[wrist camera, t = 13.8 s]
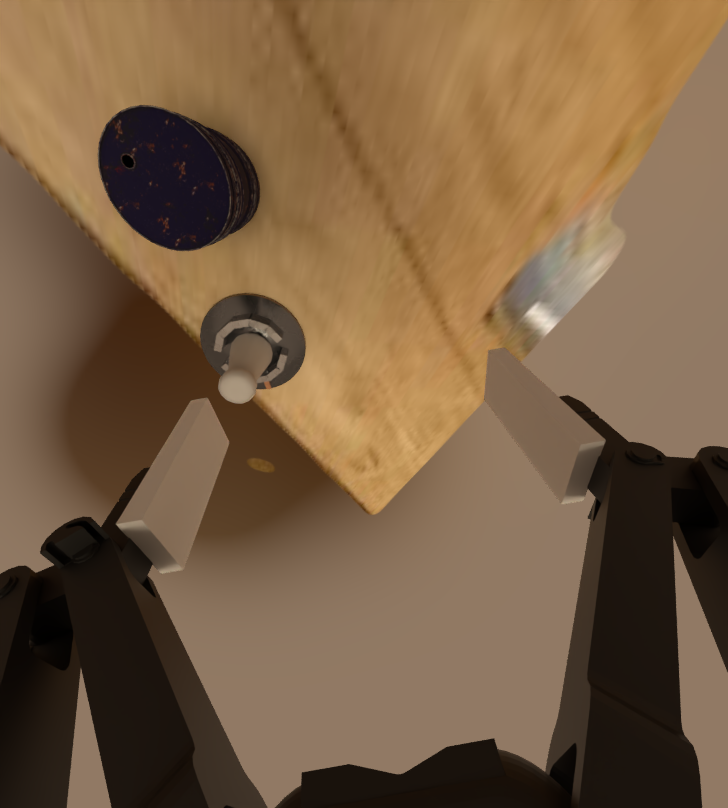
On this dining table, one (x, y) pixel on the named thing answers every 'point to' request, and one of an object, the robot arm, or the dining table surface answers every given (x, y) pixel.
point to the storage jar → (176, 178)
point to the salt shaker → (245, 367)
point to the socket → (254, 318)
